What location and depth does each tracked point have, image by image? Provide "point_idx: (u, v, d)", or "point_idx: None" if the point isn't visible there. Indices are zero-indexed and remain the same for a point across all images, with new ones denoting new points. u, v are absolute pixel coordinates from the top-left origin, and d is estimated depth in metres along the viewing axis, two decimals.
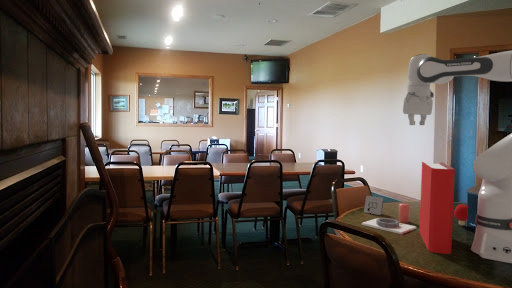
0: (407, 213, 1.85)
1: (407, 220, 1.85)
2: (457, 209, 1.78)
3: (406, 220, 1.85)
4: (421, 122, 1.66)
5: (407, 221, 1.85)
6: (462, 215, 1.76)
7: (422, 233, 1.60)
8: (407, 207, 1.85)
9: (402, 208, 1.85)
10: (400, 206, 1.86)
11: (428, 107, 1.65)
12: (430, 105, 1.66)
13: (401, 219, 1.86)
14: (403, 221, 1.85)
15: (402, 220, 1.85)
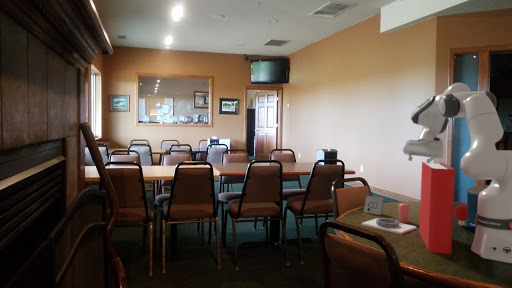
0: (407, 213, 1.85)
1: (407, 220, 1.85)
2: (457, 209, 1.78)
3: (406, 220, 1.85)
4: None
5: (407, 221, 1.85)
6: (462, 215, 1.76)
7: (422, 233, 1.60)
8: (407, 207, 1.85)
9: (402, 208, 1.85)
10: (400, 206, 1.86)
11: (435, 149, 1.97)
12: (438, 148, 1.97)
13: (401, 219, 1.86)
14: (403, 221, 1.85)
15: (402, 220, 1.85)
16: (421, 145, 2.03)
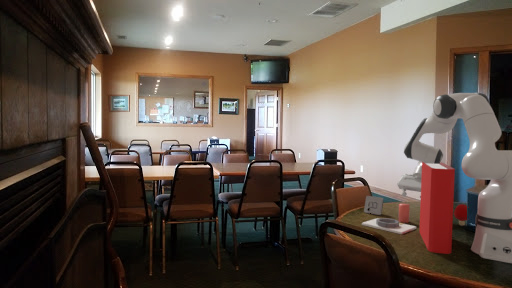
0: (407, 213, 1.85)
1: (407, 220, 1.85)
2: (457, 209, 1.78)
3: (406, 220, 1.85)
4: None
5: (407, 221, 1.85)
6: (462, 215, 1.76)
7: (422, 233, 1.60)
8: (407, 207, 1.85)
9: (402, 208, 1.85)
10: (400, 206, 1.86)
11: None
12: None
13: (401, 219, 1.86)
14: (403, 221, 1.85)
15: (402, 220, 1.85)
16: (416, 180, 1.97)
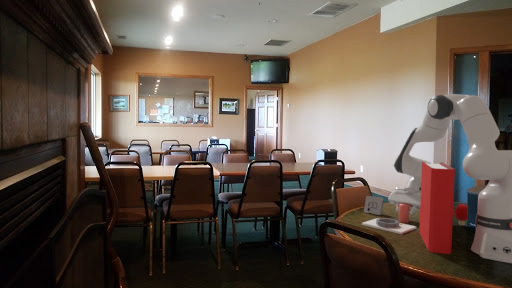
0: (407, 213, 1.85)
1: (407, 220, 1.85)
2: (457, 209, 1.78)
3: (406, 220, 1.85)
4: None
5: (407, 221, 1.85)
6: (462, 215, 1.76)
7: (422, 233, 1.60)
8: (407, 207, 1.85)
9: (402, 208, 1.85)
10: (400, 206, 1.86)
11: (420, 199, 1.85)
12: None
13: (401, 218, 1.86)
14: (403, 221, 1.85)
15: (402, 220, 1.85)
16: (407, 195, 1.91)
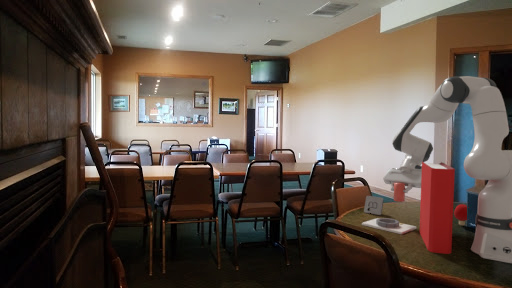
0: (402, 192, 1.80)
1: (402, 199, 1.80)
2: (457, 209, 1.78)
3: (402, 199, 1.80)
4: None
5: (403, 200, 1.80)
6: (462, 215, 1.76)
7: (422, 233, 1.60)
8: (402, 185, 1.80)
9: (398, 187, 1.80)
10: (395, 185, 1.81)
11: (416, 178, 1.80)
12: (419, 177, 1.79)
13: (396, 197, 1.81)
14: (398, 200, 1.80)
15: (397, 199, 1.80)
16: (402, 174, 1.86)
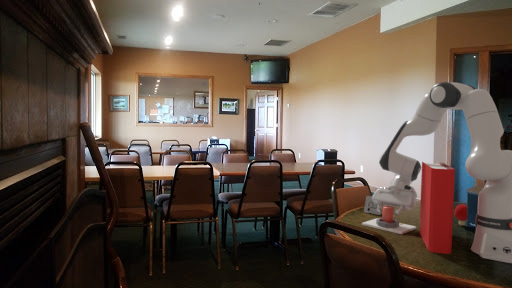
0: (391, 216, 1.74)
1: None
2: (457, 209, 1.78)
3: None
4: None
5: None
6: (462, 215, 1.76)
7: (422, 233, 1.60)
8: (391, 210, 1.74)
9: (386, 211, 1.74)
10: (384, 209, 1.75)
11: (405, 199, 1.74)
12: (408, 198, 1.73)
13: (385, 222, 1.75)
14: None
15: None
16: (391, 194, 1.80)
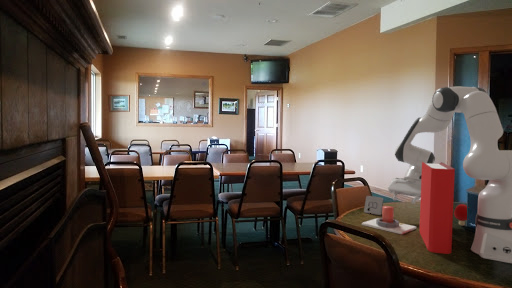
0: (391, 216, 1.74)
1: None
2: (457, 209, 1.78)
3: None
4: None
5: None
6: (462, 215, 1.76)
7: (422, 233, 1.60)
8: (391, 210, 1.74)
9: (386, 211, 1.74)
10: (383, 209, 1.75)
11: (420, 188, 1.84)
12: None
13: (385, 222, 1.75)
14: None
15: None
16: (407, 184, 1.90)
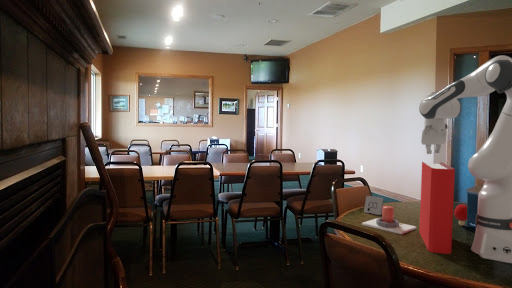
0: (391, 216, 1.74)
1: None
2: (457, 209, 1.78)
3: None
4: (436, 150, 1.88)
5: None
6: (462, 215, 1.76)
7: (422, 233, 1.60)
8: (391, 210, 1.74)
9: (386, 211, 1.74)
10: (383, 209, 1.75)
11: (443, 137, 1.88)
12: (444, 135, 1.89)
13: (385, 222, 1.75)
14: None
15: None
16: (436, 134, 1.83)
